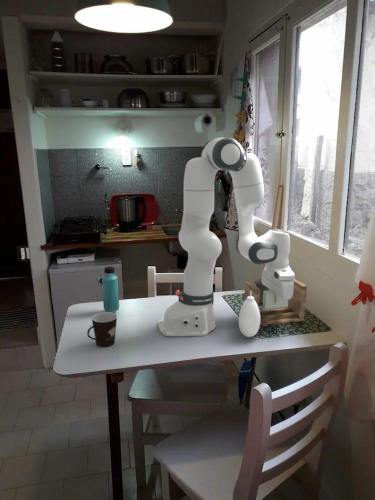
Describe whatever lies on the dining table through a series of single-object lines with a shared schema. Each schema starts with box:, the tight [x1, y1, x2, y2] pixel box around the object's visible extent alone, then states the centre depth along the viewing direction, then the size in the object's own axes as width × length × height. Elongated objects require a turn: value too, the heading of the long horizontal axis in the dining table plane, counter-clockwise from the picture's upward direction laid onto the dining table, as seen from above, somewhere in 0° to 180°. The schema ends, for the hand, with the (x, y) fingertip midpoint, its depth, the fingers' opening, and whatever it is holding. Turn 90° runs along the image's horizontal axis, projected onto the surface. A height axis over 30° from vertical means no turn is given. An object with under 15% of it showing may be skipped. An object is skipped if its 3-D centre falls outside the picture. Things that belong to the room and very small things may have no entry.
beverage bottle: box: [101, 266, 120, 313], centre depth 158 cm, size 6×7×20 cm
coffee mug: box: [86, 311, 118, 349], centre depth 132 cm, size 12×9×10 cm
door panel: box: [262, 290, 288, 310], centre depth 153 cm, size 10×3×7 cm, turn 104°
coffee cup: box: [254, 278, 269, 304], centre depth 173 cm, size 8×8×10 cm
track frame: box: [243, 278, 308, 326], centre depth 154 cm, size 22×10×15 cm, turn 104°
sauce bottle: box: [238, 292, 261, 338], centre depth 139 cm, size 8×8×18 cm
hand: (275, 301), depth 154 cm, fingers closed on door panel, 2 cm apart
